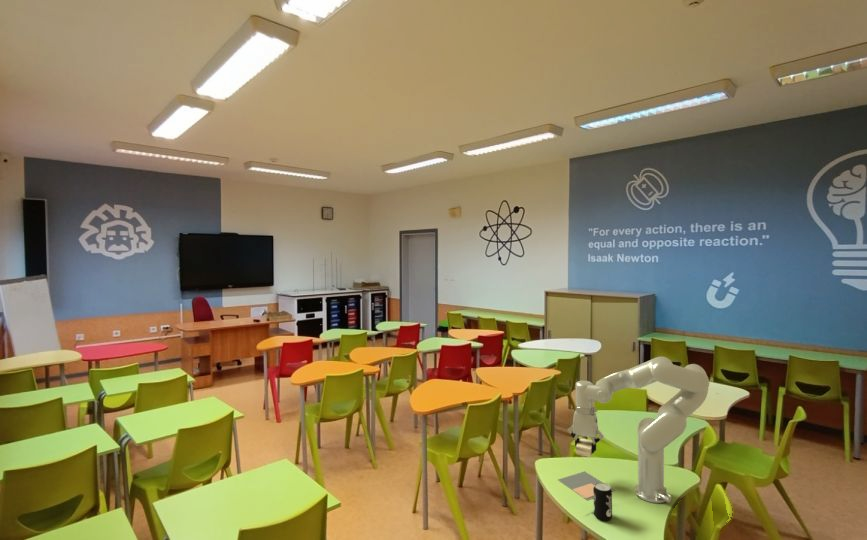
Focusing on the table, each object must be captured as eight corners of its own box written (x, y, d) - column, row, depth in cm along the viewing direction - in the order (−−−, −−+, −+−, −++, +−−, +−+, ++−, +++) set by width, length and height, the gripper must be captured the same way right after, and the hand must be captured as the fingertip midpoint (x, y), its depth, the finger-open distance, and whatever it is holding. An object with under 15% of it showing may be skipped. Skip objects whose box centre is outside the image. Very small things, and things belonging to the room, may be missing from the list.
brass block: (590, 457, 183) (590, 449, 182) (575, 454, 186) (575, 446, 186) (595, 448, 190) (595, 440, 190) (581, 445, 193) (581, 438, 193)
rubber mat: (616, 492, 180) (616, 490, 180) (587, 501, 173) (587, 500, 173) (584, 472, 196) (584, 470, 196) (557, 481, 190) (557, 479, 190)
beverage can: (602, 524, 159) (602, 492, 159) (589, 514, 165) (589, 484, 165) (616, 519, 162) (615, 488, 161) (602, 510, 168) (602, 480, 167)
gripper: (607, 410, 186) (608, 451, 186) (567, 403, 195) (568, 442, 196) (603, 416, 179) (604, 458, 180) (562, 408, 189) (563, 449, 190)
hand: (585, 449), depth 188 cm, fingers closed on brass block, 6 cm apart
